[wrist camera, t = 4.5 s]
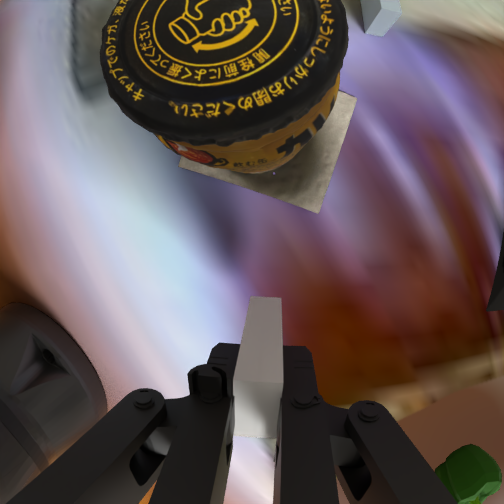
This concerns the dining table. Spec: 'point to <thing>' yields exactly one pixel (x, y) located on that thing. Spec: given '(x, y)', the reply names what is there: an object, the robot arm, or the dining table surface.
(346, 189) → the dining table surface
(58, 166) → the dining table surface
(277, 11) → the condiment
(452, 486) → the bell pepper
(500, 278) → the black angular block
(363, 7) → the bay
